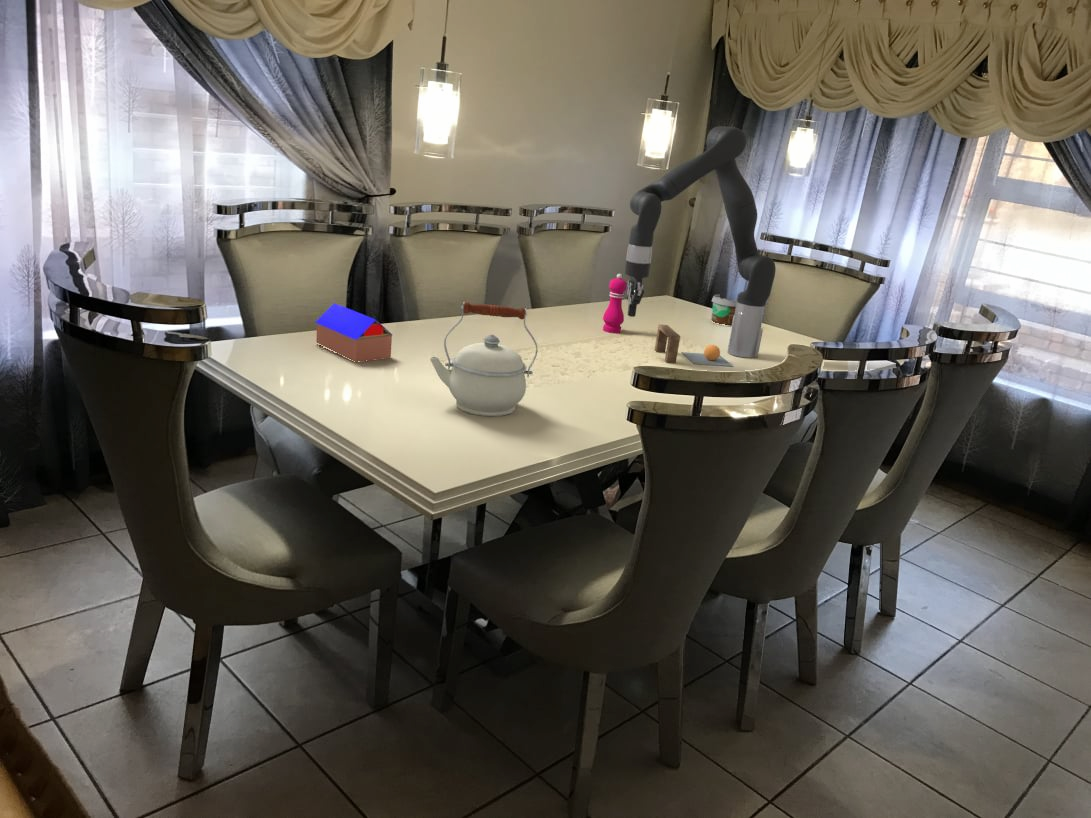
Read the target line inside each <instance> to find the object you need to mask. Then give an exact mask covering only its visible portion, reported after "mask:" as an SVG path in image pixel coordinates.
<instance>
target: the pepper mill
mask: <svg viewBox="0 0 1091 818" xmlns="http://www.w3.org/2000/svg"><path fill="white" fill-rule="evenodd" d="M626 283H627V282H626V280H625V279H623V275H622V273H618V274H616V277H615V278H613V279H611V280H610V281H609V284H608V287H609V290H610V291H609V297H610V299H609V304H608V306H607V308H606V309H605V311H604V314H603V316H602V320H603V323H604V324H603V326H602V331H604V332H606V333H610V334H611V333H612V334H620V333H621V331H622V326H621V325H622V324H623V323H624V321H625V314H624V311H623V306H622V302H623V299H624V297H625V296H624V295H625V293H624V292H625V291H627V289H626Z"/></svg>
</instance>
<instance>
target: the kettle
mask: <svg viewBox="0 0 1091 818" xmlns="http://www.w3.org/2000/svg"><path fill="white" fill-rule="evenodd" d="M460 307H461V309H462V313H461V318H460V319H459V320H458V322H456V323H455V324H453V326H452V327H451V328H450V329H449V330H448V332H447V333H446V335H445V338H444V341H443V345H444V346H443V347H444V352H445V356H446V357H447V358H446V359H447V361H448V362H445V363H444V364H443V363H442V362H441V360H440V358H439V357H438V356H435V355H434V356H430V357H429V360H430V362H431V364H432V366H433V368H434V370H435V372H436V375H437V376H438V377H439V379H440V380H441V382H442V383H443V384H444V385H445V386H446V387H447V388H448V389H449V391H450V394H451V396H452V397H453V398H454V399H455V405H456V407H457V408H458V409H460V410H461V411H463V412H465V413H468V414H470V415H476V416H480V417H503V416H506V415H510V414H512V413H513V412H514V411H515V408H516V405H518V404H519V403H520V402H521V401H522V400H523V398H524V396H525V394H526V390H527V381H526V377H527V378H529V377H530V375H532V374H534V373H533V372H534V371H533V370H531V368H532V367H533V364H534V362H535V360H536V358H537V355H538V345H537V344H538V343H537V341H536V339H535V338H534V336H533V335H532V333H531V331H530V330H529V328H528V327H527V325H526V317H527V316H528V312H527V308H524V307H520V308H514V307H510V306H506V305H501V306H500V305H496V304H495V305H493V304H488V303H487V304H485V303H478V304H477V303H475V304H474V303H469V302H468V301H463V302H462V305H461V306H460ZM469 313H470V314H471V313H472V314H477V315H481V316H490V317H496V318H497V317H500V318H518V319H519V320H523V326H524V328H525V331H526V332H527V333H528V334H529V336H530V338H531V339H532V341H533V342H534V343H533V344H534V345H535V348H536V349H535V354H534V356H533V359H531V363H530V364H529V366H528V367H527V365H526V364H525V363H524V362H523V359H522V357H521V355H520V354H519V353H518V351H516V350H514V349H513V348H511V347H509V346H507V345H503V344H500V343H501V340H500V339H499V337H497V336H496V335H494V334H493V333H490V334H489V335H487V336H485V337H484V338H483V339H482V341H483V342H476V343H471V344H469V345H466V346H464V347H463V348H461V349H460V350H459V352H457V354H456V355H455V356H454V357H453V358H452V359H451V358H450V355H449V352H448V349H447V339H448V336H449V335H450V333H451V332H452V331H453V330H454V329H455V328H456V327H457V326H458V325H459V324H461V322H462V321H463V318H464V314H465V315H467V314H469ZM450 368H451V369H450ZM525 375H526V376H525Z"/></svg>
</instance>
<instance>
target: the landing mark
mask: <svg viewBox="0 0 1091 818" xmlns="http://www.w3.org/2000/svg"><path fill="white" fill-rule="evenodd" d="M681 354H682V355H683V356H685V358H687V359H688V360H689V361H690V363H691V364H693V365H701V366H703V365H705V366H717V367H718V366H719V367H732V368H733V367H734V365H733V364H732V363H731V362H729V361H728V360H727V359H726V358H724V357H723V356H722V355H720V356H719V357H718V359H716V360H714V361H711V360H708V359H707V358H706V357H705V355H704V353H700V352H699V353H698V352H697V353H696V352H683V351H682V352H681Z"/></svg>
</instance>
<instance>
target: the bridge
mask: <svg viewBox="0 0 1091 818" xmlns="http://www.w3.org/2000/svg"><path fill="white" fill-rule="evenodd" d="M680 340H681V335H680V334H679V333H678V332H676V331H675V330H674V329H673V328H672V327H670V326H669V324H660V323H659V324H658V326H657V332H656V338H655V345H654V350H655V351H656V352H655V353H661V354H662V353H664V354H665V358H664V363H665V362H666V363H667V364H677V359H678V354H679V346H680V342H681V341H680Z"/></svg>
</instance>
